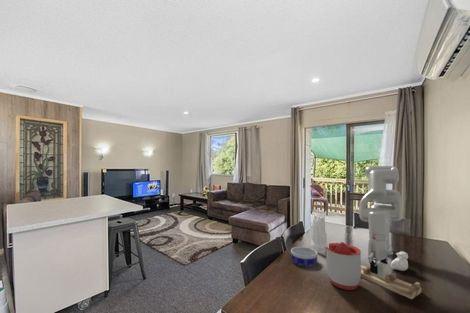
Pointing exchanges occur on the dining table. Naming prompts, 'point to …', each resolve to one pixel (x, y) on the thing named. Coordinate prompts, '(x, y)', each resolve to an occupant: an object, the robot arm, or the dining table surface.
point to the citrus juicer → (343, 265)
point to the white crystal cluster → (319, 234)
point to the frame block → (382, 270)
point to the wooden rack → (392, 283)
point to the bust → (400, 261)
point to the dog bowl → (304, 256)
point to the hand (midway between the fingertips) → (379, 270)
